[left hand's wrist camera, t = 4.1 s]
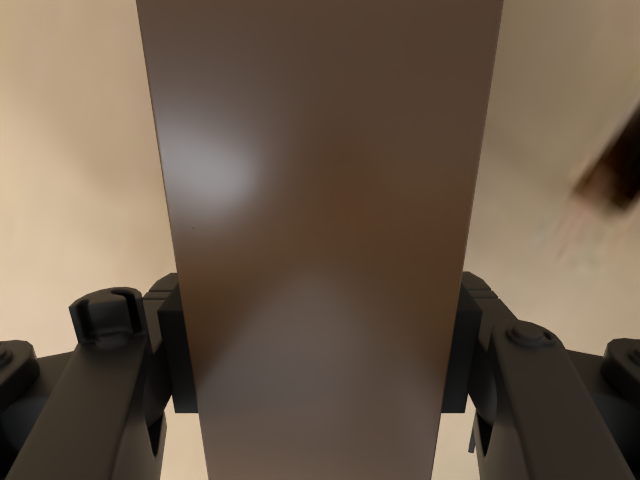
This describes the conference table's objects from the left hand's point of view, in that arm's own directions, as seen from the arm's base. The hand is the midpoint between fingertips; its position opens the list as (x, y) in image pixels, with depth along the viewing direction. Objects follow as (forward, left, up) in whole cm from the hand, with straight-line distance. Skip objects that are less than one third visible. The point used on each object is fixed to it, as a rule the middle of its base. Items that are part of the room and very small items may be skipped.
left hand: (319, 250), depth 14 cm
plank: (+20, -9, -1) cm, 21 cm away
